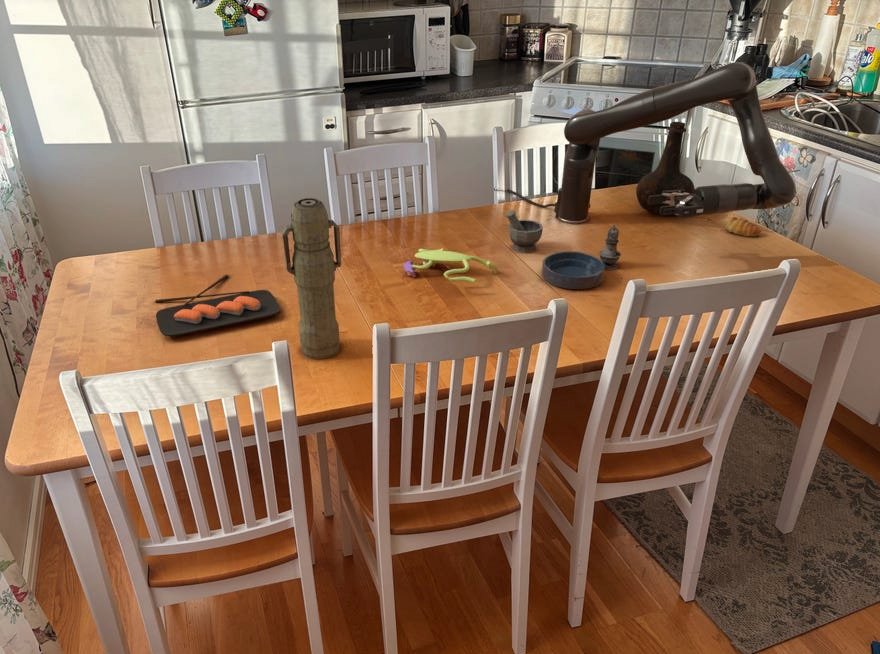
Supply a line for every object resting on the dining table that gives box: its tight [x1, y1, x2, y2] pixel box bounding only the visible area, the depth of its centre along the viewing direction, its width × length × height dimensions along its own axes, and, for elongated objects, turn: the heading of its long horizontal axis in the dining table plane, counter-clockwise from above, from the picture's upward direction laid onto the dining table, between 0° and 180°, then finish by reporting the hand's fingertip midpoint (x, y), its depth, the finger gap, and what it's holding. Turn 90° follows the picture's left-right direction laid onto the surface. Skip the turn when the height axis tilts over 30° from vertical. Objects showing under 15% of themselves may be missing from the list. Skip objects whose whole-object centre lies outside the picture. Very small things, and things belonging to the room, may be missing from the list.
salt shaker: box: [598, 224, 622, 271], centre depth 199 cm, size 6×6×12 cm
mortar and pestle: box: [505, 209, 544, 253], centre depth 209 cm, size 11×9×12 cm
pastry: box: [725, 216, 762, 237], centre depth 219 cm, size 9×7×4 cm
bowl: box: [541, 251, 606, 290], centre depth 195 cm, size 16×16×4 cm
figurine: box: [402, 247, 499, 285], centre depth 197 cm, size 18×27×6 cm
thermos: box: [281, 197, 342, 360], centre depth 157 cm, size 9×12×35 cm
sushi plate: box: [155, 274, 281, 337], centre depth 184 cm, size 29×30×4 cm
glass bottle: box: [635, 121, 696, 216], centre depth 229 cm, size 18×18×28 cm
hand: (654, 205), depth 193 cm, fingers open, 8 cm apart
